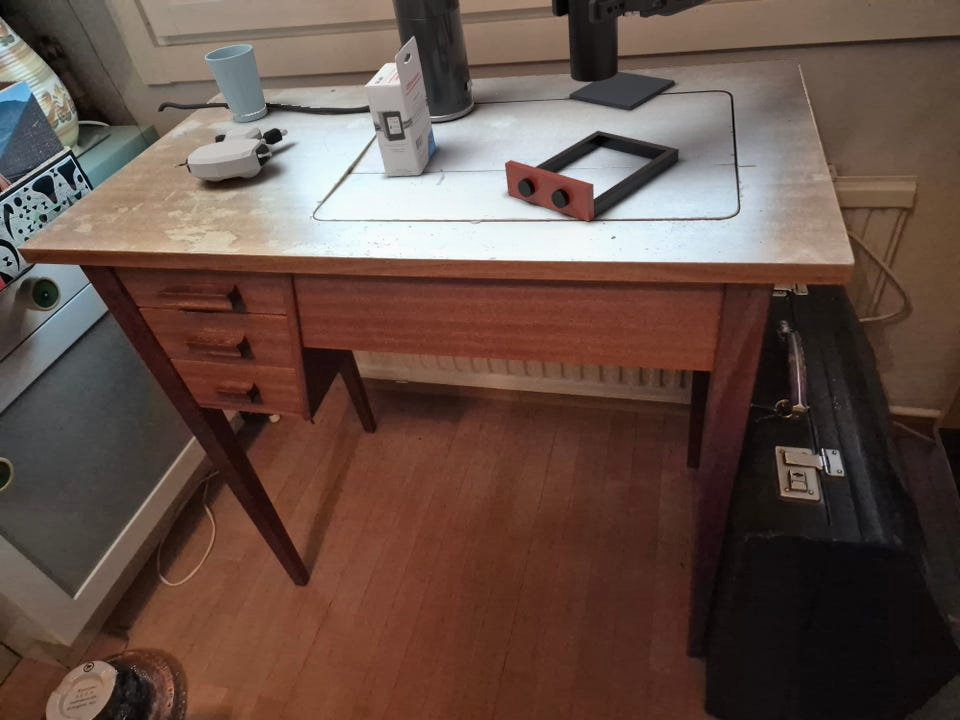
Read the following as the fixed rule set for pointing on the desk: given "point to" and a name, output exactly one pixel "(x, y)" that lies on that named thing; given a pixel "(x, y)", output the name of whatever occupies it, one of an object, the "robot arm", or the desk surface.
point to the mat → (622, 90)
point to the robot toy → (233, 154)
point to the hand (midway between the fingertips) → (572, 8)
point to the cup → (238, 80)
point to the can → (591, 44)
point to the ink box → (401, 114)
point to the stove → (577, 194)
